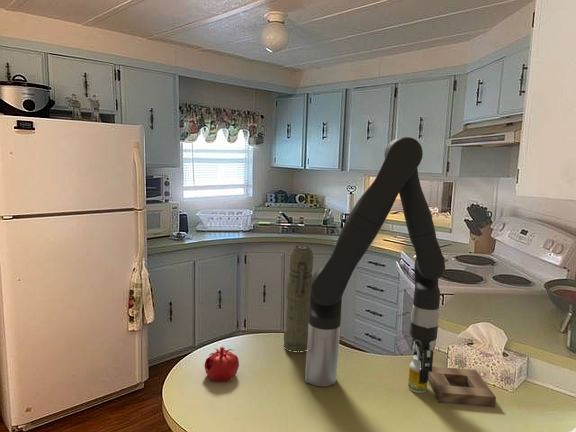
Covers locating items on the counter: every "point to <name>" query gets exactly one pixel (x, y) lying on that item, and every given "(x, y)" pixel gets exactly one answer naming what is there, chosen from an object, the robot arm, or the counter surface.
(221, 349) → the pomegranate
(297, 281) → the thermos
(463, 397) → the walnut holder
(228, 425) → the counter surface
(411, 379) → the supplement bottle
